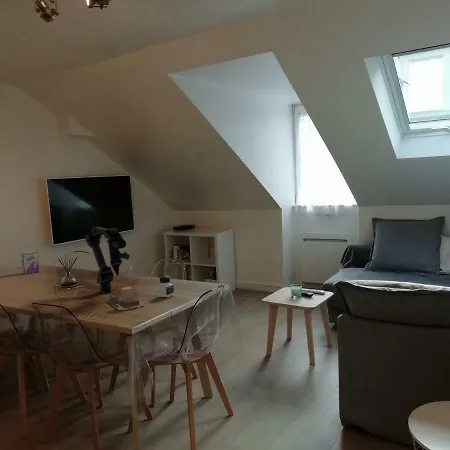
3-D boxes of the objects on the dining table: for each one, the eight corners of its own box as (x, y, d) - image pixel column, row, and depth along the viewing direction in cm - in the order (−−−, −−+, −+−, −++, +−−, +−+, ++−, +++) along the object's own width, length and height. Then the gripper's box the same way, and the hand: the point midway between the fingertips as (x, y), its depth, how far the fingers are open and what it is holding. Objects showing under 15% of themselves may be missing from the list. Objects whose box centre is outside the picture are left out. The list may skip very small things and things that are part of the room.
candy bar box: (24, 274, 345) (22, 253, 343) (22, 273, 349) (20, 252, 347) (39, 272, 352) (37, 251, 350) (37, 271, 356) (35, 250, 354)
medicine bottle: (166, 298, 264) (165, 278, 262) (157, 297, 267) (156, 277, 266) (174, 295, 270) (173, 275, 268) (164, 294, 274) (163, 274, 272)
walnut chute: (105, 301, 262) (105, 294, 262) (128, 297, 270) (128, 290, 269) (119, 311, 242) (119, 304, 242) (144, 306, 250) (144, 299, 249)
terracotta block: (122, 304, 252) (121, 288, 251) (130, 302, 255) (129, 286, 254) (125, 306, 248) (124, 289, 247) (134, 304, 250) (133, 288, 249)
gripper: (128, 247, 265) (132, 274, 264) (126, 247, 283) (130, 272, 282) (109, 250, 262) (112, 277, 261) (108, 250, 280) (112, 275, 279)
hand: (117, 275), depth 271 cm, fingers closed
